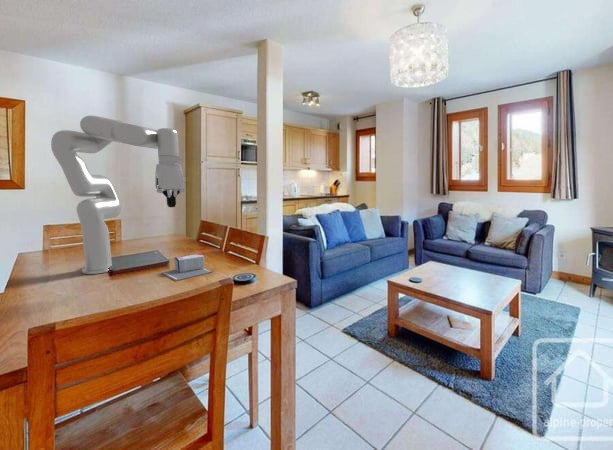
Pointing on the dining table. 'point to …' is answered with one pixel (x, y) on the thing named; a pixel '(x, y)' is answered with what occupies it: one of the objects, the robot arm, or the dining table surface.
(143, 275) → the dining table surface
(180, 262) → the supplement box
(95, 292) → the dining table surface
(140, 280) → the dining table surface
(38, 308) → the dining table surface
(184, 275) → the mat
